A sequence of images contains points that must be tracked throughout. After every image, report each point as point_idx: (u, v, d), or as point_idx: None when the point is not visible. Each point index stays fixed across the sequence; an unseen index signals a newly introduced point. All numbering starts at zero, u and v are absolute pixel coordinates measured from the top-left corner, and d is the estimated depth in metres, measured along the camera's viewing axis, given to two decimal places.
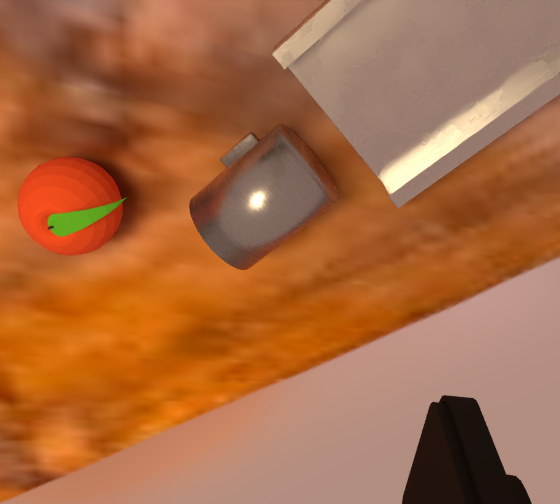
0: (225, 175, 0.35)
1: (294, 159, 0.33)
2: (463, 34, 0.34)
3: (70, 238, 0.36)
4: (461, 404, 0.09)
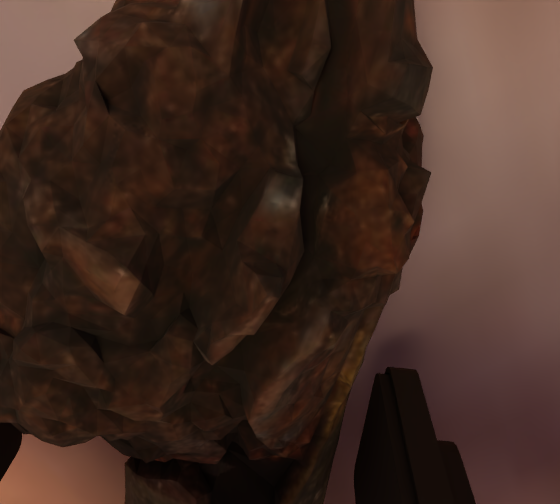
0: None
1: None
2: None
3: None
4: (401, 374, 0.10)
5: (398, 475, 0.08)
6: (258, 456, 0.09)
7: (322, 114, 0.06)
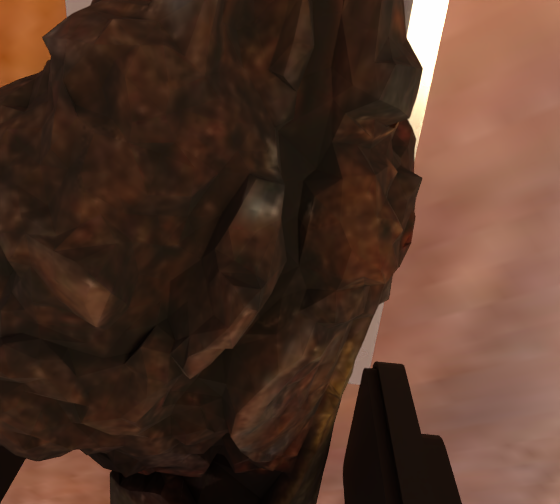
0: None
1: None
2: None
3: None
4: (388, 369, 0.10)
5: (382, 467, 0.08)
6: (244, 469, 0.09)
7: (305, 116, 0.06)
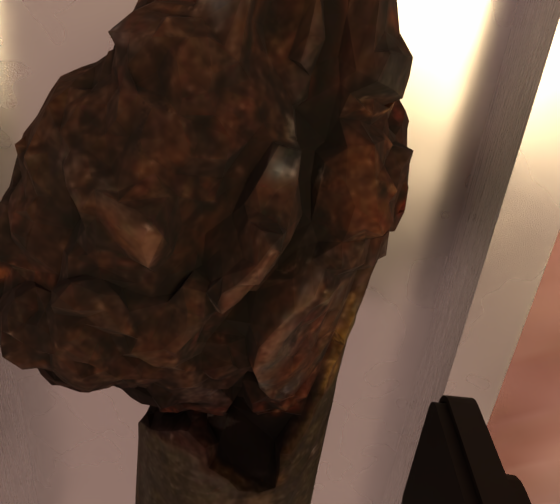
0: None
1: None
2: None
3: None
4: (460, 404, 0.09)
5: None
6: (260, 409, 0.10)
7: (317, 96, 0.07)
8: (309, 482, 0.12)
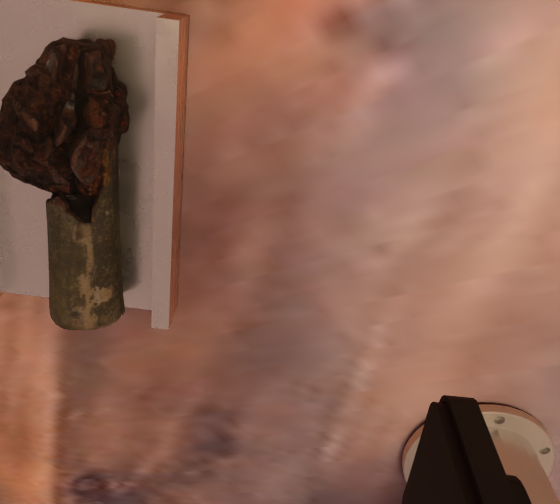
0: None
1: None
2: None
3: None
4: (461, 404, 0.09)
5: None
6: (82, 190, 0.30)
7: (80, 88, 0.27)
8: (108, 228, 0.32)
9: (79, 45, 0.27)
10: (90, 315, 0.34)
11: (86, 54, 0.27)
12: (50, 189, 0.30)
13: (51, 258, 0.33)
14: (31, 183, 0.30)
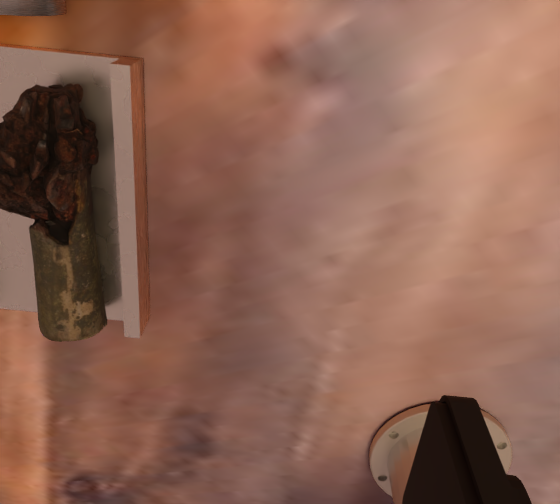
0: None
1: (7, 14, 0.28)
2: None
3: None
4: (461, 404, 0.09)
5: None
6: (59, 216, 0.34)
7: (51, 128, 0.32)
8: (85, 249, 0.36)
9: (49, 92, 0.31)
10: (74, 327, 0.38)
11: (54, 99, 0.31)
12: (31, 217, 0.34)
13: (36, 277, 0.37)
14: (15, 212, 0.35)
